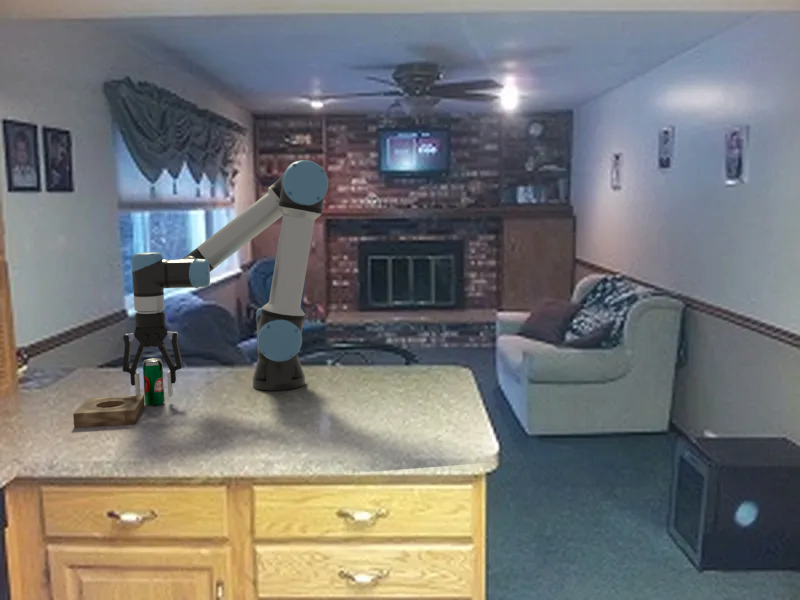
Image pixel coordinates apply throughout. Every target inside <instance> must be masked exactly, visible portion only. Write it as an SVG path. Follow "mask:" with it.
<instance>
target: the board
mask: <svg viewBox="0 0 800 600" xmlns="http://www.w3.org/2000/svg"><path fill="white" fill-rule="evenodd" d="M145 406H146V404H145V396H144V395H141V396H136V395H129V396H127V395H126V396H112V397H111V396H109V397H93V398H92V397H91V398H90V397H89V398H86V399H85V400H84V401H83V402H82V403H81V404H80V406H78V408H77V409H76V410H75V411H74V412H73V413H72V415H73V416H72V417H73V428H74V429H76V428H77V429H78V428H93V427H109V426H125V425H126V426H127V425H128V426H129V425H136V424H137V423H138V421H139V420H140V418H141V416H142V413H143V412H144V411H145Z"/></svg>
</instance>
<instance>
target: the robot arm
mask: <svg viewBox="0 0 800 600" xmlns="http://www.w3.org/2000/svg"><path fill="white" fill-rule="evenodd" d="M328 189H329V178H328V175H327V173H326V171H325V170H324V168H323V167H322V166H321V165H320V164H318V163H316V162H315V161H312V160H309V159H308V160H306V159H300V160H299V159H298V160H296V161H294V162H292V163H291V164H289V165H288V166H287V167H286V169H285V170H284V172H283V174H282V175H281V176H280V177H279V178H278V179H277V180H276V181H275V182H274V183H273V184H271V185H270V186H269V187H268V188H267V192H266V194H264V195H263V196H262V197H260V198H259V199H258V200H257V201H255V202H253V204H251V205H250V206H249V207H247V208H246V209H245V210H244V211H241V213H239V214H238V215H237V216H236V217H234V218H233V219H232V220H231V221H229V222H228V223H227V224H225V225H224V226H223V227H222V228H220V229H219V230H217V231H216V232H215V233H213V234H212V235H211V236H210V237H209V238H207V240H205V241H204V242H202V243H201V244H200V245H198V246H197V247H195V249H193V250H192V251H190V252H189V253H188V254H186V255H185V256H184V257H182V258H180V259H163V256H162V255H163V254H162V253H161V252H152V251H151V252H149V251H148V252H137V253H134V254H133V255H132V257H131V258H132V260H131V274H132V290H133V306H134V311H135V314H134V322H135V323H134V326H135V328H134V331H133V332H131V333H127V332H126V333H125V334H124V335H123V342H124V351H123V352H124V353H123V361H122V372H124V373H129V374H130V375H129V376H130V384H131V386H132V387H133V386H134V388H135V391H134V392H135V396H142V395H141V383H140V382H141V379H140V372H139V371H137V369H138V366H139V365H140V364H139V363H140V361H141V359H142V356H143V354H144V350H145V348H150V347H153V348H154V347H155V348H158V350H159V351H160V353H161V355H162V357H163V360H164V361H165V363H166V365H167V368H168V369H169V370H168V371H167V373H166V374H167V391H168V397H170V398H171V397H172V396H173V392H174V391H173V384H175V383H176V382H177V372H176V371H178V370H181V369H182V368H183V360H182V356H181V352H180V346H179V342H178V337H179V332H178V331H168V329H167V327H166V313H165V311H164V310H165V308H166V307H165V296H164V295H165V292H164V289H185V288H186V289H188V288H189V289H190V288H194V289H199V288H207V287H209V286H210V283H211V272H212V271H213V270H214V269H216V268H217V267H218V266H219V265H221V264H222V263H223V262H225V261H226V260H227V259H228V258H229V257H231V256H233V255H234V254H235V253H236V252H237V251H239V250H240V249H242V248H243V247H244V246H246V245H247V244H248V243H249V242H251V241H252V240H253V239H255V238H256V237H257V236H258V235H260V234H261V233H262V232H263V231H264V230H266V229H267V228H269V227H270V226H272V224H274V223H275V222H276V221H278V220H279V219H280V218H282V219H281V224H280V225H281V226H280V231H279V232H280V233H279V237H278V243H277V248H276V249H277V250H276V256H275V261H274V262H275V263H274V268H273V274H272V279H271V280H272V281H271V287H270V293H269V298H268V299H269V300H268V302H267V303H265V304H264V305H262V307H260V308H257V310H256V315H255V321H256V345H257V361H256V366H255V370H254V373H253V376H252V387H253V388H254V389H257V390H260V391H261V390H262V391H270V392H271V391H287V390H292V389H298V388H301V387H303V386H304V385H306V378H305V377H306V376H305V373H304V370H303V367H302V365H301V362H300V359H299V351H300V350H301V348H302V345H303V335H302V333H303V327H304V319H305V315H306V314H305V312H304V311H303V309H302V307H301V305H302V299H303V293H304V288H305V287H304V286H305V281H306V275H307V268H308V263H309V256H310V250H311V245H312V241H313V240H312V238H313V232H314V228H315V221H316V219H318V218H319V217H321V216H322V213H323V207H324V201H325V197H326V195H327V193H328ZM166 337H168V338H169V340H170V341H171V347H172V353H173V355H174V360H175V363H174V360H173V359H172V357H171V355H170V353H169V351H168V349H167V347H166V344H165V342H164V340H165V339H166ZM134 338H135V339H136V340H137V341H138V342H139V345H138V348H137V351H136V353H135V356H134V359H133V361H132V365H131V366H130V362H131V351H132V342H133V340H134Z"/></svg>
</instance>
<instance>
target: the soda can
mask: <svg viewBox="0 0 800 600" xmlns="http://www.w3.org/2000/svg"><path fill="white" fill-rule="evenodd" d="M163 365H164V363H163V361H162V359H161V358H154V357H153V358H146V359H144V360H143V363H142V376H143V377H142V379H143V392H144V393H143V394H144V404H145V406H149V407H155V406H156V407H158V406H161V405H163V404H164V403H165V401H166V399H165V381H164V378H165V377H164V366H163Z"/></svg>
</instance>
